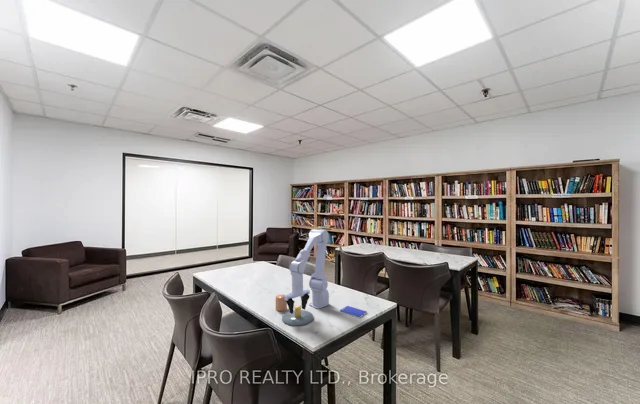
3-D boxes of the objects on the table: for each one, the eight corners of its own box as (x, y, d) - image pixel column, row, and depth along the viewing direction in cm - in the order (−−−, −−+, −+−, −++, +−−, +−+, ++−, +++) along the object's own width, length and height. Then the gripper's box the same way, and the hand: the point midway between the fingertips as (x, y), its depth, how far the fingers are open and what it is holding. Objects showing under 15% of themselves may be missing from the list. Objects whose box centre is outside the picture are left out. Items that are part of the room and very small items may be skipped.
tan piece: (283, 305, 149) (282, 293, 149) (288, 309, 144) (288, 296, 144) (273, 308, 145) (273, 296, 145) (279, 312, 140) (279, 299, 141)
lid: (301, 309, 144) (301, 307, 144) (319, 319, 132) (319, 317, 132) (276, 317, 133) (276, 315, 133) (293, 329, 121) (293, 327, 121)
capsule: (298, 314, 135) (298, 305, 135) (302, 316, 132) (302, 306, 132) (293, 316, 133) (293, 306, 133) (297, 318, 130) (297, 308, 130)
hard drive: (339, 310, 140) (359, 316, 132) (347, 305, 146) (367, 311, 139) (339, 313, 140) (359, 319, 132) (347, 308, 146) (367, 313, 139)
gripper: (289, 289, 125) (290, 317, 125) (313, 283, 134) (313, 309, 134) (282, 286, 130) (282, 312, 130) (305, 280, 140) (305, 305, 139)
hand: (297, 310), depth 132 cm, fingers open, 7 cm apart
